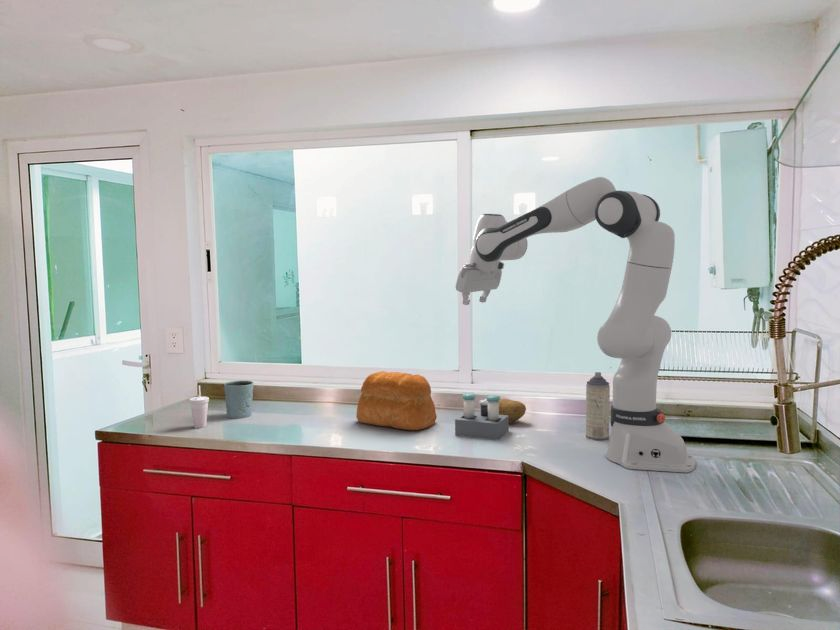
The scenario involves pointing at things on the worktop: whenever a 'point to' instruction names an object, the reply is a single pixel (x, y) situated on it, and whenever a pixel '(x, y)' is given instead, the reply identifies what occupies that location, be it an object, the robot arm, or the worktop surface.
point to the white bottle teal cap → (493, 407)
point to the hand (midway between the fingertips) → (474, 303)
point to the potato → (511, 409)
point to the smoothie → (199, 410)
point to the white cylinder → (468, 405)
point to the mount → (482, 424)
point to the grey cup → (239, 399)
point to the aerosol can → (597, 408)
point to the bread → (396, 401)
